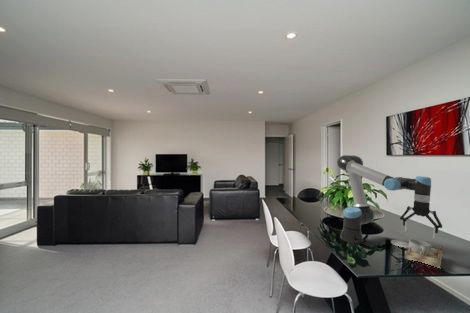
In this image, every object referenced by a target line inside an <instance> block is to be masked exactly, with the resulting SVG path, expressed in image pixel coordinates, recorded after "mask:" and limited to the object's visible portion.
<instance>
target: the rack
mask: <svg viewBox="0 0 470 313" xmlns="http://www.w3.org/2000/svg"><path fill="white" fill-rule="evenodd" d="M425 242H426V243H429V242H427V241H425ZM425 253H426V251H423V255H420V254H417V253H413V252H411V247H409V248H408V249H407V250H404V260H409V261H411V260H413V261H412V262H414V261H418V262H422V263H425V264H428V265H431V266H434V267H433V268H435V267H437V268H436V269H438V268H440V269H441V267H440V266H442V261H441V260H442V259H443V246H442V245H439V249H436V248H432V247H431V251H430V254H429V255H428V256H425ZM418 262H417V263H418ZM428 265H427V266H428ZM431 266H430V267H431Z"/></svg>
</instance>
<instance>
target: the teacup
mask: <svg viewBox="0 0 470 313" xmlns="http://www.w3.org/2000/svg"><path fill="white" fill-rule="evenodd" d="M426 242H427V241H423V240H420V239H415V238H410V239H409V240H408V243H409V247H411V252H413V253H417V254H420V255H423V251H426V253H425V256H428V255H429V254H430V251H431V248H432V244H430V243H429V242H428V243H426Z"/></svg>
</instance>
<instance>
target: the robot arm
mask: <svg viewBox="0 0 470 313" xmlns="http://www.w3.org/2000/svg"><path fill="white" fill-rule="evenodd" d="M336 164H337V167H338V168H339V169H340V170H343V171H345V173H346V174H347V175H348V178H349V184H350V185H349V186H350V189H351V193H352V199H353V204H354V205H352V206H351V207H349V206H348V207H345V208H344V210H343V224H342V226H343V227H342V230H341V232H340V240H342V241H343V242H346V243H350V244H357V245H358V244H362V243H363V242H364V236H363V233H362V225H365V224H367V225H368V224H369V223H372V222H373V221H374V219H375V212H374V210H373V209H372V208H371V207H370V206H371V205H370V204H368V202H367V199H366V193H365V189H364V184H363V180H362V178H364V179H367V180H369V181H372V182H374V183H376V184H379V185H381V186H383V187H384V188H385V189H386V190H389V191H393V192H394V191H399V190H409V191H413V192H414V193H413V194H414V195H413V196H414V197H413V206H409V205H408V206H406V210H405V211H404V213H403V214H402V215H401V216H400V218H399V219H400V220H402V226H404V232H407V231H408V220H409V219H411V218H412V217H413V216H415V215H416V216H420V217H426V219H428V220H429V222H430V223H431V224H432V225H433V231H432V233H433V234H432V239H435V238H436V234H438V233H439V229H443V224H442V222H441V221H440V219H439V217H438V215H437V211H436V210H430V205H431V204H430V202H431V193H432V192H431V190H432V178H431V177H429V176H416V177H415V178H409V177H402V176H395V177H394V176H390V175H388V174H385V173H382V172H381V171H378V170H375V169H373V168H371V167H369V166H368V167H367V166H365V165H364V162H363V159H362V158H361V157H360V156H359V155H341V156H340V157H339V158H337V161H336ZM409 211H413V212H412V213H411V214H409V215H408V216H406V215H407V214H408V213H409ZM430 214H431V215H433V217H434V219H433V218H432V217H431V216H430ZM405 216H406V217H405ZM434 220H435V221H436V222H435V221H434Z"/></svg>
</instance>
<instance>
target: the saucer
mask: <svg viewBox="0 0 470 313" xmlns="http://www.w3.org/2000/svg"><path fill="white" fill-rule="evenodd" d="M390 243H391V245H393V246H396V247H398V246H399V248H402V247H404V249H409V242H407V241H403V240H399V239H392V240H391V239H390Z"/></svg>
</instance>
